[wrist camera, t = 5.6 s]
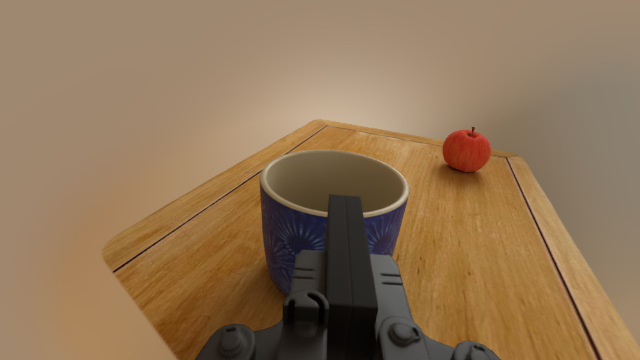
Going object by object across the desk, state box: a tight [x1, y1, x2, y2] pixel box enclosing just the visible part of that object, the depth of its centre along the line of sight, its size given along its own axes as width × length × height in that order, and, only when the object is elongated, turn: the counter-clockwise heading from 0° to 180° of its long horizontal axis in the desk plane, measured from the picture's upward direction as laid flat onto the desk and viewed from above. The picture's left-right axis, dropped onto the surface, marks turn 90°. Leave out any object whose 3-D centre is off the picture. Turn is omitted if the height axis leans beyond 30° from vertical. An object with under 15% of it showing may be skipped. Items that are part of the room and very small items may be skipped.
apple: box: [443, 127, 491, 172], centre depth 56 cm, size 8×8×8 cm
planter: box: [260, 150, 409, 296], centre depth 28 cm, size 12×12×11 cm
